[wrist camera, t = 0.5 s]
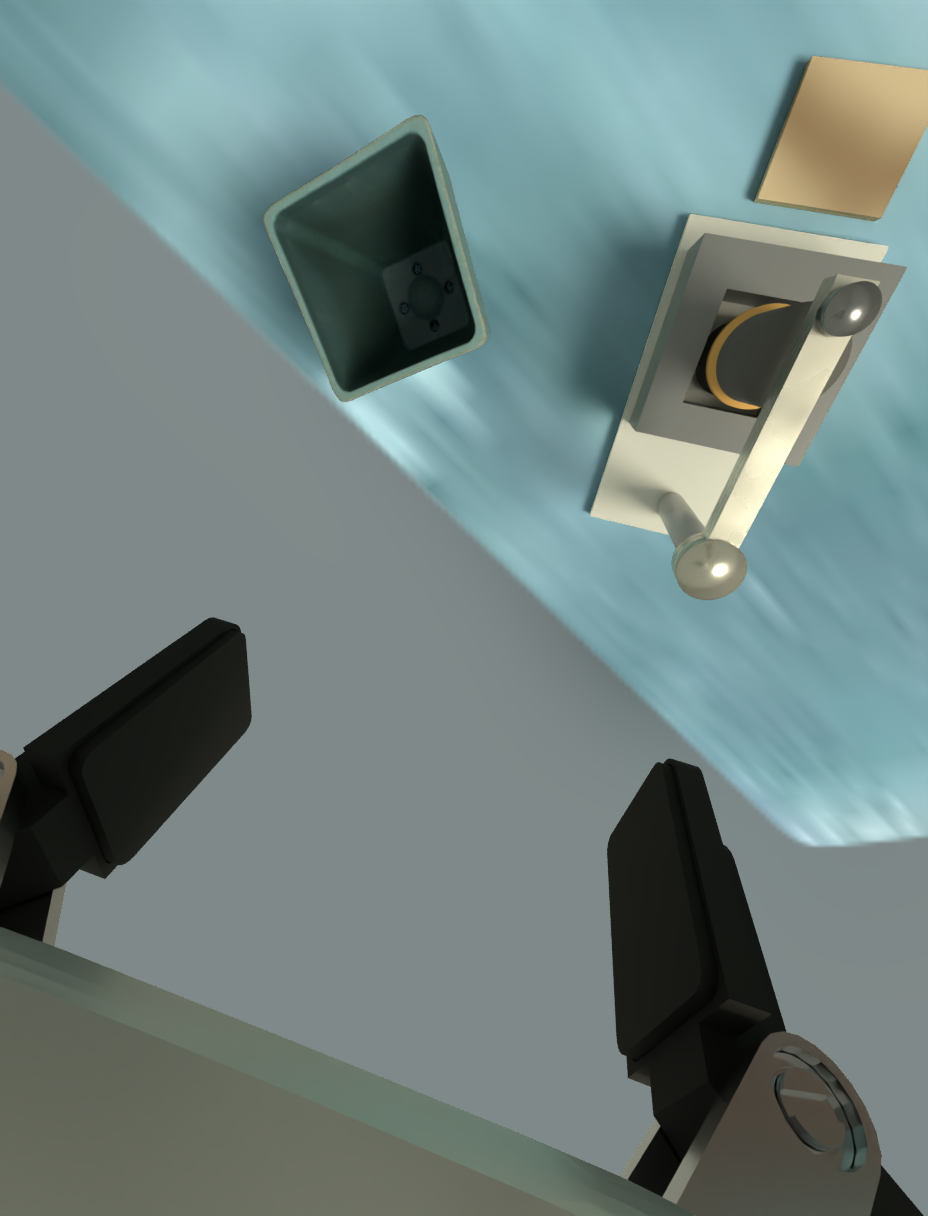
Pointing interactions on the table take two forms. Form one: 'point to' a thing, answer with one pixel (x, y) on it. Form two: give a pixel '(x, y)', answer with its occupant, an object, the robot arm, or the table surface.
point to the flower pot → (380, 262)
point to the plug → (754, 354)
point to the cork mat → (847, 138)
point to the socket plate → (681, 458)
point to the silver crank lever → (775, 435)
